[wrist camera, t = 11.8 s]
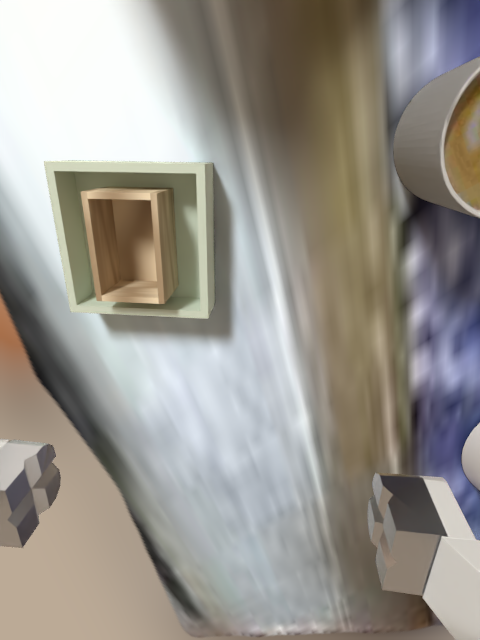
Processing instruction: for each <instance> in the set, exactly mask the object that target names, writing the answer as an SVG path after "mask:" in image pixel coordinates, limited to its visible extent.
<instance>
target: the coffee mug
mask: <svg viewBox="0 0 480 640" xmlns="http://www.w3.org/2000/svg"><path fill="white" fill-rule="evenodd" d="M393 155H394V163H395V167H396V170H397V172H398V175H399V177H400V179H401V181H402V182H403V184H404V185H405V186H406V187H407V189H408V190H409V191H411V192H412V193H413V194H414V195H416V196H417V197H419V198H421V199H423V200H425V201H428V202H431V203H434V204H437V205H440V206H443V207H446V208H449V209H452V210H455V211H458V212H461V213H464V214H467V215H470V216H473V217H476V218H479V219H480V57H478V58H476V59H474V60H471V61H469V62H467V63H465V64H463V65H461V66H459V67H457V68H455V69H453V70H451V71H449V72H447V73H444V74H442V75H440V76H439V77H437V78H435V79H434V80H432V81H431V82H429V83H428V84H427V85H426V86H424V87H423V88H422V89H421V90H420V91H419V92H418V93H417V94H416V95H415V96H414V98H413V99H412V100H411V101H410V103H409V104H408V106H407V107H406V109H405V111H404V112H403V114H402V116H401V119H400V121H399V123H398V126H397V129H396V133H395V137H394V146H393Z"/></svg>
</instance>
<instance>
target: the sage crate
mask: <svg viewBox="0 0 480 640" xmlns="http://www.w3.org/2000/svg"><path fill="white" fill-rule="evenodd" d="M44 166H45V171H46V177H47V182H48V188H49V194H50V199H51V205H52V210H53V216H54V222H55V227H56V233H57V238H58V244H59V249H60V255H61V261H62V266H63V272H64V277H65V283H66V289H67V294H68V300H69V305H70V311H71V312H80V313H100V314H120V315H141V316H161V317H181V318H201V319H208V318H209V316H210V314H211V312H212V309H213V307H214V305H215V260H214V194H213V163H201V162H135V161H70V160H68V161H44ZM107 186H109V187H156V188H173V191H174V210H175V228H176V246H177V265H178V283H179V286H178V287H177V288H176V290H175V291H174V292H173V294H172V295H171V296H170V298H169V299H168V300H167V301H166V303H165V304H152V303H130V302H109V301H97V300H96V293H95V287H94V280H93V273H92V266H91V259H90V253H89V246H88V239H87V232H86V225H85V219H84V212H83V205H82V198H81V192H82V191H87V190H92V189H97V188H102V187H107Z"/></svg>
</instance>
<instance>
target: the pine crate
mask: <svg viewBox="0 0 480 640" xmlns="http://www.w3.org/2000/svg"><path fill="white" fill-rule="evenodd" d="M81 198H82V205H83V212H84V219H85V225H86V232H87V239H88V246H89V253H90V259H91V266H92V273H93V280H94V287H95V293H96V300H97V301H109V302H130V303H152V304H165V303H166V301H167V300H168V299H169V298H170V296H171V295H172V294H173V292H174V291H175V290H176V288H177V287H178V286H179V283H178V265H177V246H176V228H175V210H174V191H173V188H156V187H109V186H107V187H102V188H97V189H92V190H87V191H82V192H81Z"/></svg>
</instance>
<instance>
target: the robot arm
mask: <svg viewBox="0 0 480 640" xmlns="http://www.w3.org/2000/svg"><path fill="white" fill-rule="evenodd" d="M55 457H56V454H55V451H54V447H53V446H52V445H50V444H45V443H36V442H28V441H19V440H7V439H0V546H6V547H18V548H22V547H23V546H24V545H25V543H26V542H27V540H28V539H29V537H30V536H31V535H32V533H33V532H34V530H35V529H36V527H37V526H38V524H39V516H38V515H39V514H41V513H42V512H44V511H45V510H47V509H49V508H50V506H51V505H52V503H53V502H54V500H55V499H56V496H57V494H58V490H59V487H60V478H61V477H60V472H59V469H58V468H57V467H56V466H55V465H54V464H53V463H52V461H53V460H54V458H55ZM462 466H463V470H464V473H465V475H466V476H467V478H468V479H469V481H470V482H471V483H472V484H473V485H474V486H475V487H476V488H477V489H478V490H479V491H480V423H479V424H478V425H477V426H476V427H475V428H474V429H473V431H472V432H471V433H470V435H469V437H468V438H467V440H466V442H465V445H464V447H463V451H462ZM372 486H373V490H374V494H375V495H374V496H372V497H371V498H370V499H369V505H368V528H369V534H370V539H371V542H372V543H373V544H374V545H375V546H376V547H377V554H376V559H375V561H376V565H377V570H378V574H379V578H380V583H381V587H382V590H387V591H394V592H401V593H407V594H414V595H421V596H423V599H424V600H425V602H426V603H427V604H428V605H429V607H430V608H431V609H432V611H433V612H434V613H435V614H436V616H437V617H438V618H439V620H440V621H441V622H442V624H443V625H444V626H445V627H446V629H447V630H448V631H449V633H450V634H451V635H452V636H453V637H454V639H455V640H480V540H476V539H475V537H474V535H473V533H472V531H471V529H470V527H469V525H468V523H467V521H466V519H465V517H464V515H463V513H462V511H461V509H460V507H459V505H458V503H457V501H456V499H455V497H454V495H453V493H452V491H451V489H450V487H449V485H448V484H447V482H446V480H445V479H443V478H442V477H430V476H414V475H401V474H389V473H376V474H375V476H374V479H373V483H372Z"/></svg>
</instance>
